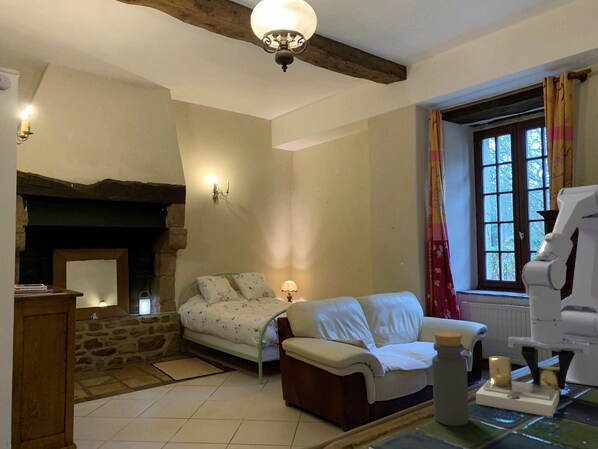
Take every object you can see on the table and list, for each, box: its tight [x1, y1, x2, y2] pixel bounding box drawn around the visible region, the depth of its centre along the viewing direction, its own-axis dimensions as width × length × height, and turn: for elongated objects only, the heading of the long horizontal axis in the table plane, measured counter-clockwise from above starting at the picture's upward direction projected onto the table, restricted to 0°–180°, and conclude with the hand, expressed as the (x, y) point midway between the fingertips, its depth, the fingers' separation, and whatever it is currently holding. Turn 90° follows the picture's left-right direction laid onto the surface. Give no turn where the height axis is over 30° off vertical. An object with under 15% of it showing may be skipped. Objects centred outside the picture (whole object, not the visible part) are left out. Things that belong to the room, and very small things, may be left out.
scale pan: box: [482, 379, 554, 400], centre depth 89 cm, size 7×12×1 cm, turn 54°
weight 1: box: [488, 355, 513, 386], centre depth 91 cm, size 4×4×5 cm
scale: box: [475, 379, 560, 418], centre depth 88 cm, size 10×13×2 cm
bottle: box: [431, 331, 470, 427], centre depth 80 cm, size 6×6×15 cm
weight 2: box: [538, 365, 562, 397], centre depth 92 cm, size 4×4×5 cm
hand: (549, 386), depth 92 cm, fingers closed on weight 2, 4 cm apart
